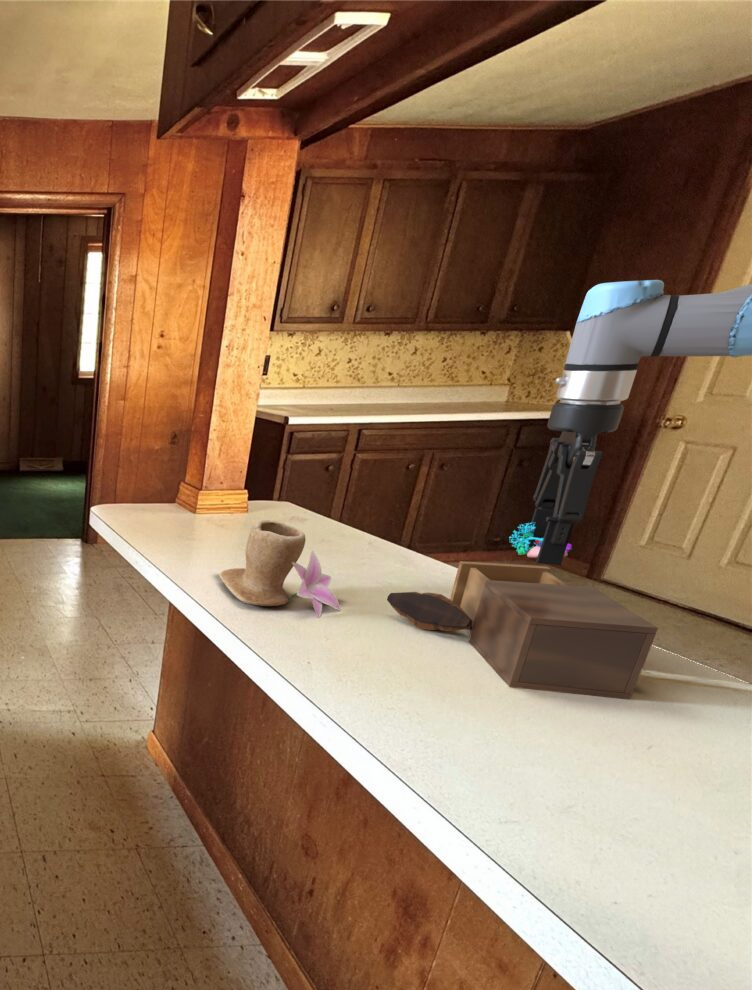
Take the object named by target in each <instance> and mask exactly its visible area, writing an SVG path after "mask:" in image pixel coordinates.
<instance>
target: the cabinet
mask: <svg viewBox="0 0 752 990" xmlns="http://www.w3.org/2000/svg"><path fill="white" fill-rule="evenodd" d="M471 627H472V628H471V632H470V634H469V638H468V643H469V644H470V645H471V646H472V647H473V648H474V649H475V651H476V652H477V653H478V654H479V655H480V656H481V657H482V658H483V659H484V661H485V662H486V663H487V664H488V665H489V666H490V667H491V668H492V670H494V672H495V673H496V674H497V675H498V676H499V677H500V678H501V679H502V680H503V682H504V683H505V684H506V685H507V687H509V688H517V689H529V690H538V691H545V692H556V693H557V692H558V693H566V694H574V695H575V694H576V695H584V696H593V697H604V698H613V699H623V700H624V699H625V700H631V698H632V696H633V693H634V691H635V688H636V685H637V684H638V680H639V679H640V675H641V673H642V670H643V668H644V666H645V664H646V663H645V662H646V660H647V657H648V655H649V653H650V650H651V647H652V646H653V643H654V640H655V637H656V636H657V635H656V634H657V632H658V629H659V627H658V626H657V625H654V624H652V623H651V622H649V621H648V620H647V619H645V618H643V617H642V616H640V615H638V614H637V613H635V612H634V611H632V610H631V609H629V608H627V607H626V606H624V605H623V604H621V603H620V602H618V601H616V600H615V599H614V598H612V597H610V596H609V595H607V594H605V593H604V592H602V591H600V589H598V588H596V587H594V586H585V585H570V584H569V585H568V584H566V585H555V584H540V583H524V582H509V581H493V580H486V581H485V585H484V588H483V592H482V595H481V599H480V602H479V606H478V610H477V613H476V617H475V620H474V624H473V626H471Z"/></svg>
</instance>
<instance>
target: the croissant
mask: <svg viewBox="0 0 752 990" xmlns="http://www.w3.org/2000/svg"><path fill="white" fill-rule="evenodd" d="M386 600H387V602H388V604H389V605H390V606H391V608H393V609H394V611H396V613H397V614H398V615H400V616H401V617H404V618H406V619H407V621H408V622H409V623H411V625H413V626H415V627H416V628H418V629H420V630H430V631H434V630H440V631H442V632H451V631H464V630H469V629H470V628H471V627H473V626H472V623H473V621H472V620H471V618H470V617H469V616H468V615H467V614H466V613H465V612H464V611H463V610H462V608H461V607H460V606H458V605H455V604H453V602H452V601H451V600H450V597H447V596H445V595H443V594H442V593H437V592H422V593H421V592H418V591H406V592H405V591H404V592H403V591H402V592H390V593H389V594H388V595H387V597H386Z"/></svg>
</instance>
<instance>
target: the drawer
mask: <svg viewBox="0 0 752 990" xmlns="http://www.w3.org/2000/svg"><path fill="white" fill-rule="evenodd" d="M550 572H551V567H549V566H545V565H529V564H516V563H499V562H484V561H483V562H482V561H467V560H466V561H464V560H463V561H462V560H461V561H459V564H458V568H457V571H456V575H455V579H454V582H453V585H452V590H451V594H450V597H449V599H450V600H451V601H452V602H453V604H455V605H458V606H460V607H461V608H462V610H463V611H464V612H465V613H466V614H467V615H468V616H469V617H470V618H471V620H472V621H473V623H472V626H471V627H473V624H474V620H475V617H476V613H477V610H478V606H479V602H480V599H481V595H482V592H483V588H484V585H485V581H486V580H493V581H509V582H524V583H540V584H555V585H567V584H566V583H565V582H564V581H562V580H561V579H559V578H557V577H556V576H554V575H553V574H552V573H550Z"/></svg>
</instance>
